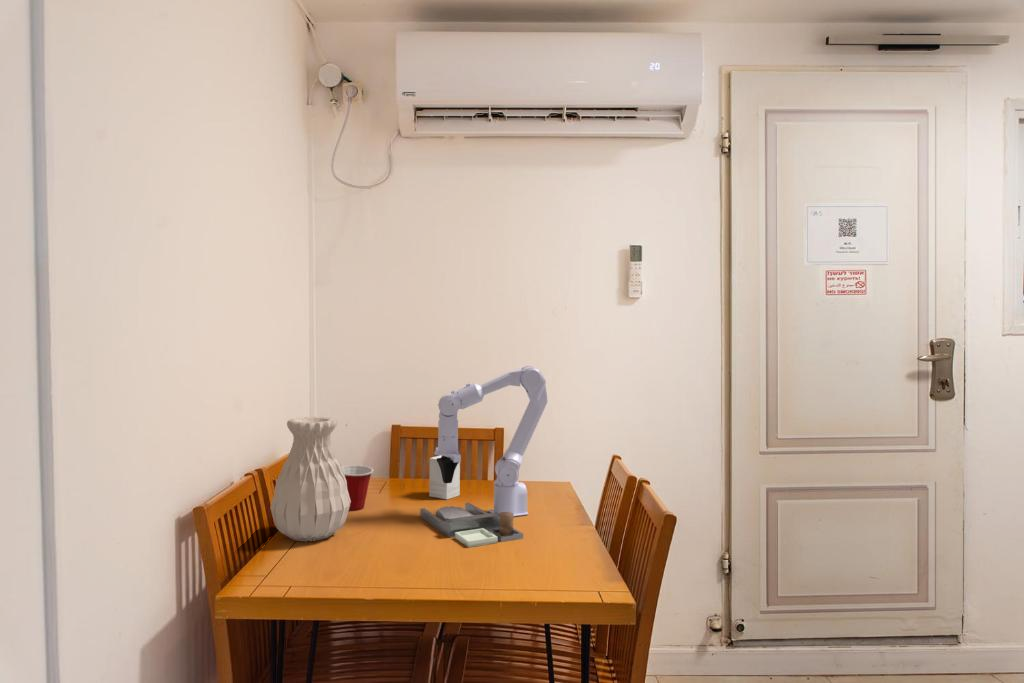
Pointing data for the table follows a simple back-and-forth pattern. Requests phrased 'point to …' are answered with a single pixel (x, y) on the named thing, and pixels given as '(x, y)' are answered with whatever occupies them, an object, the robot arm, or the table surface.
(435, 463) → the supplement box
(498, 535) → the dowel socket
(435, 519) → the bench stop
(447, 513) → the stone block
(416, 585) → the table surface
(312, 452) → the vase
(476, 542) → the tray
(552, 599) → the table surface
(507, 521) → the dowel
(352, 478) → the plastic cup
